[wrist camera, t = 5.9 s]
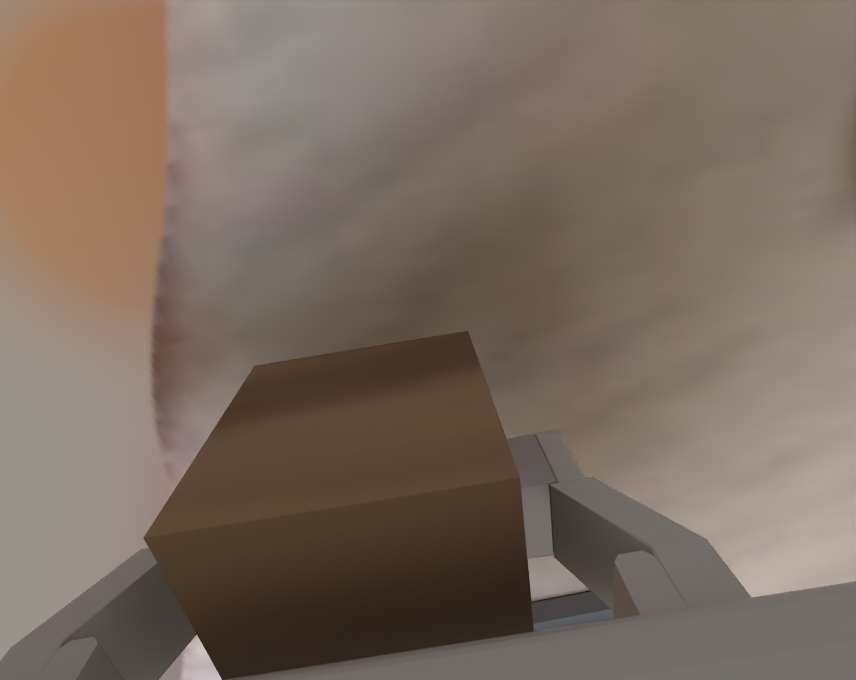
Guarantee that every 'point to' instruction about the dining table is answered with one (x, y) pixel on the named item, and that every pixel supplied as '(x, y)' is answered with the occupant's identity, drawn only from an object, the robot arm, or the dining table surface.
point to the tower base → (569, 611)
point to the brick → (350, 513)
